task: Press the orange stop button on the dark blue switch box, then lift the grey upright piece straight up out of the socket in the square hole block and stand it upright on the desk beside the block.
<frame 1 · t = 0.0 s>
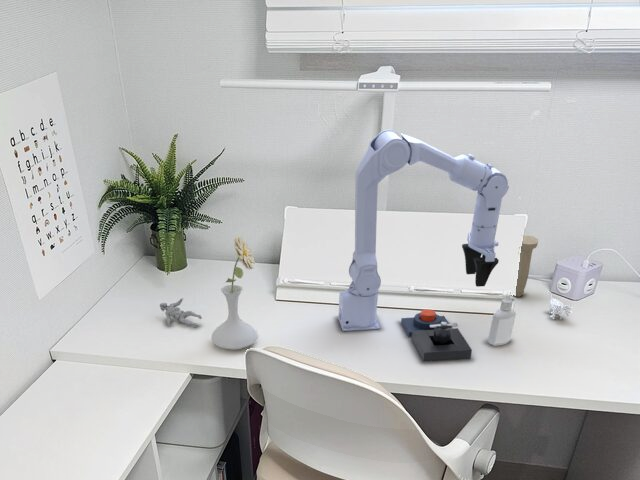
hand: (475, 279, 168), 10 cm above the table, tool pointing down, fingers open, 7 cm apart
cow: (553, 315, 175), on the table
switch box: (426, 328, 170), on the table
soldier figure: (181, 322, 176), on the table
flower in vase: (237, 342, 166), on the table
grey upright piece: (442, 336, 159), in the square hole block
square hole block: (440, 349, 161), on the table
eye dropper bottle: (498, 342, 164), on the table
handle: (516, 295, 185), on the table
stop button: (427, 315, 167), point 4 cm above the table, slide at 0.2 cm
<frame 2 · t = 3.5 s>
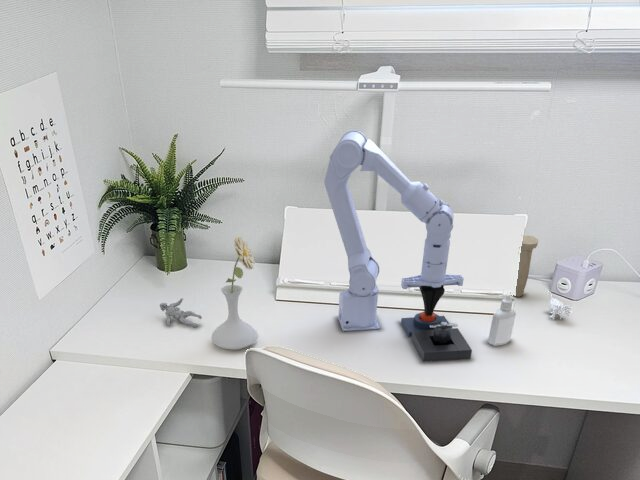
hand: (428, 314, 167), 4 cm above the table, tool pointing down, fingers closed, pressing on stop button
stop button: (427, 317, 168), point 3 cm above the table, slide at -0.2 cm, touching gripper
everything else where it was.
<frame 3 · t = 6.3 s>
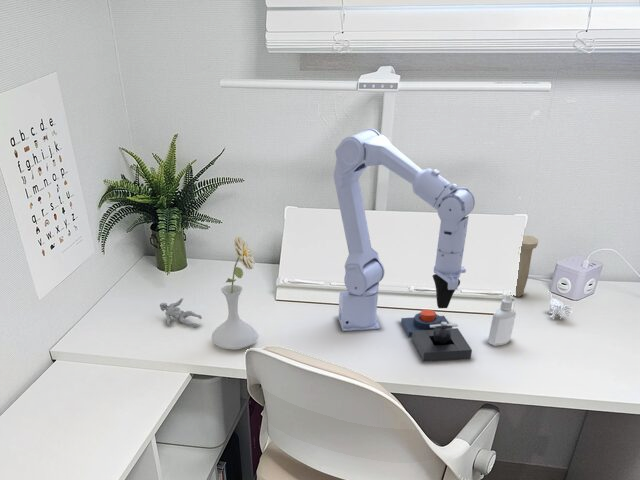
hand: (442, 307, 157), 10 cm above the table, tool pointing down, fingers closed
stop button: (427, 315, 167), point 4 cm above the table, slide at 0.2 cm
everything else where it was.
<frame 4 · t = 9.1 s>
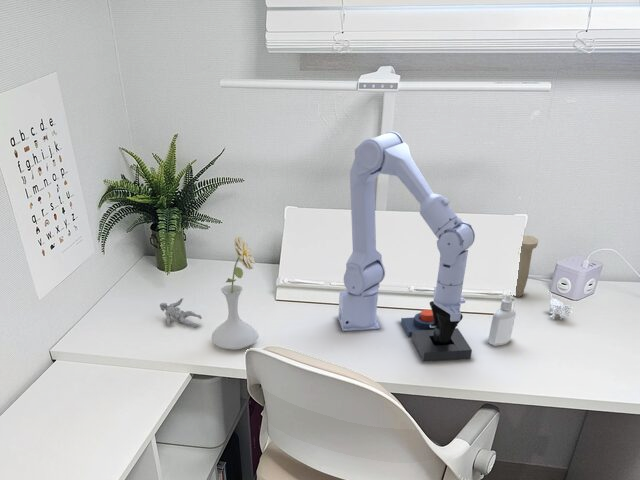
hand: (442, 336, 159), 3 cm above the table, tool pointing down, fingers closed on grey upright piece, 4 cm apart
grey upright piece: (442, 336, 159), in the square hole block, touching gripper
everything else where it was.
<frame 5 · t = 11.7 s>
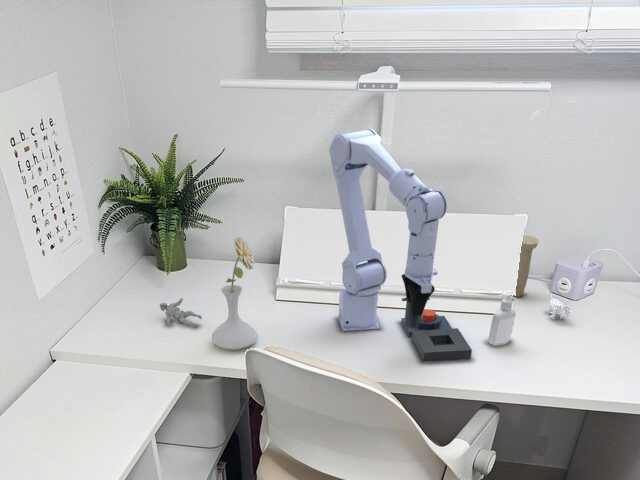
hand: (414, 310, 154), 10 cm above the table, tool pointing down, fingers closed on grey upright piece, 4 cm apart
grey upright piece: (414, 310, 154), point 10 cm above the table, touching gripper
everything else where it was.
when the fingers open (3 cm above the table, at t = 14.3 s): grey upright piece stays where it is, on the table.
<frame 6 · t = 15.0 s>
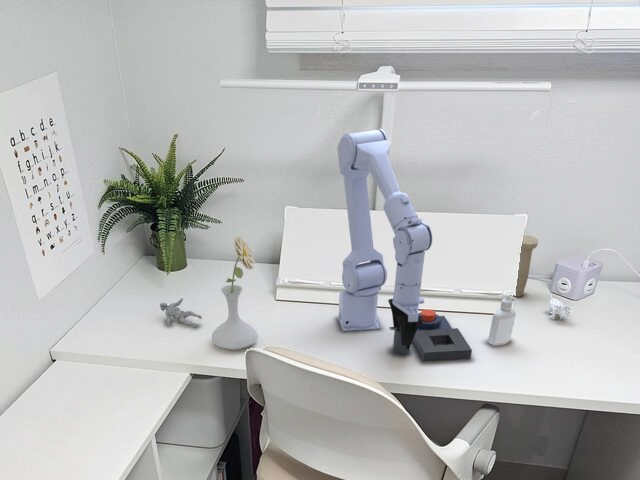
hand: (402, 337, 158), 4 cm above the table, tool pointing down, fingers open, 7 cm apart
grey upright piece: (402, 338, 158), on the table
everything else where it was.
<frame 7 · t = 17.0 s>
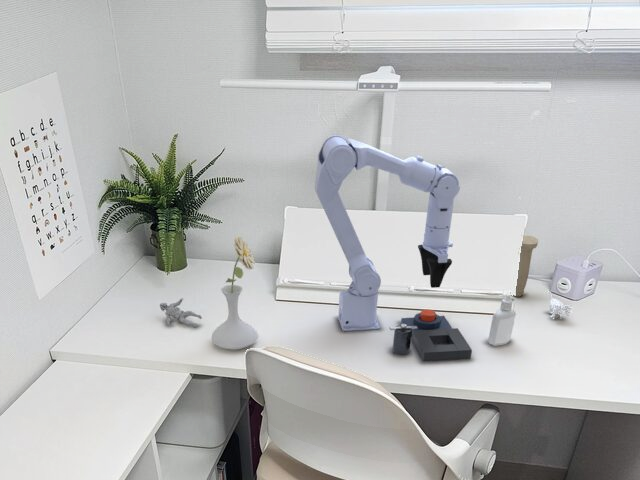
hand: (431, 280, 167), 10 cm above the table, tool pointing down, fingers open, 7 cm apart
nothing on the table moved.
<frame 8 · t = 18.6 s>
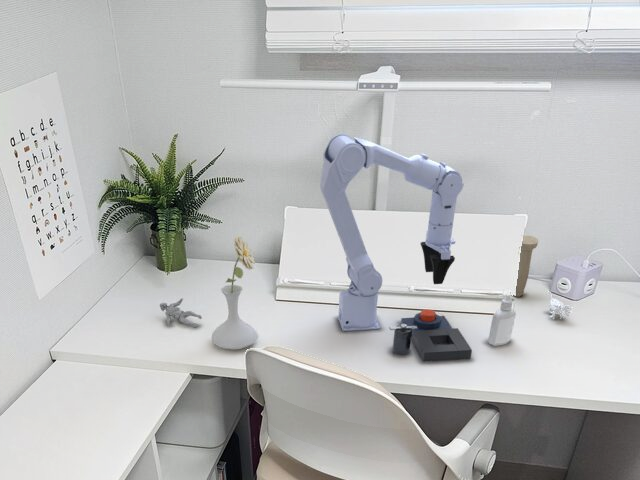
hand: (433, 277, 169), 10 cm above the table, tool pointing down, fingers open, 7 cm apart
nothing on the table moved.
at the end: stop button pushed in 0.8 cm at the most during the clip, back to 0.2 cm at the end; grey upright piece inside the target area (0.2 cm from its centre), on the table; grey upright piece tilted 0° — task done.
